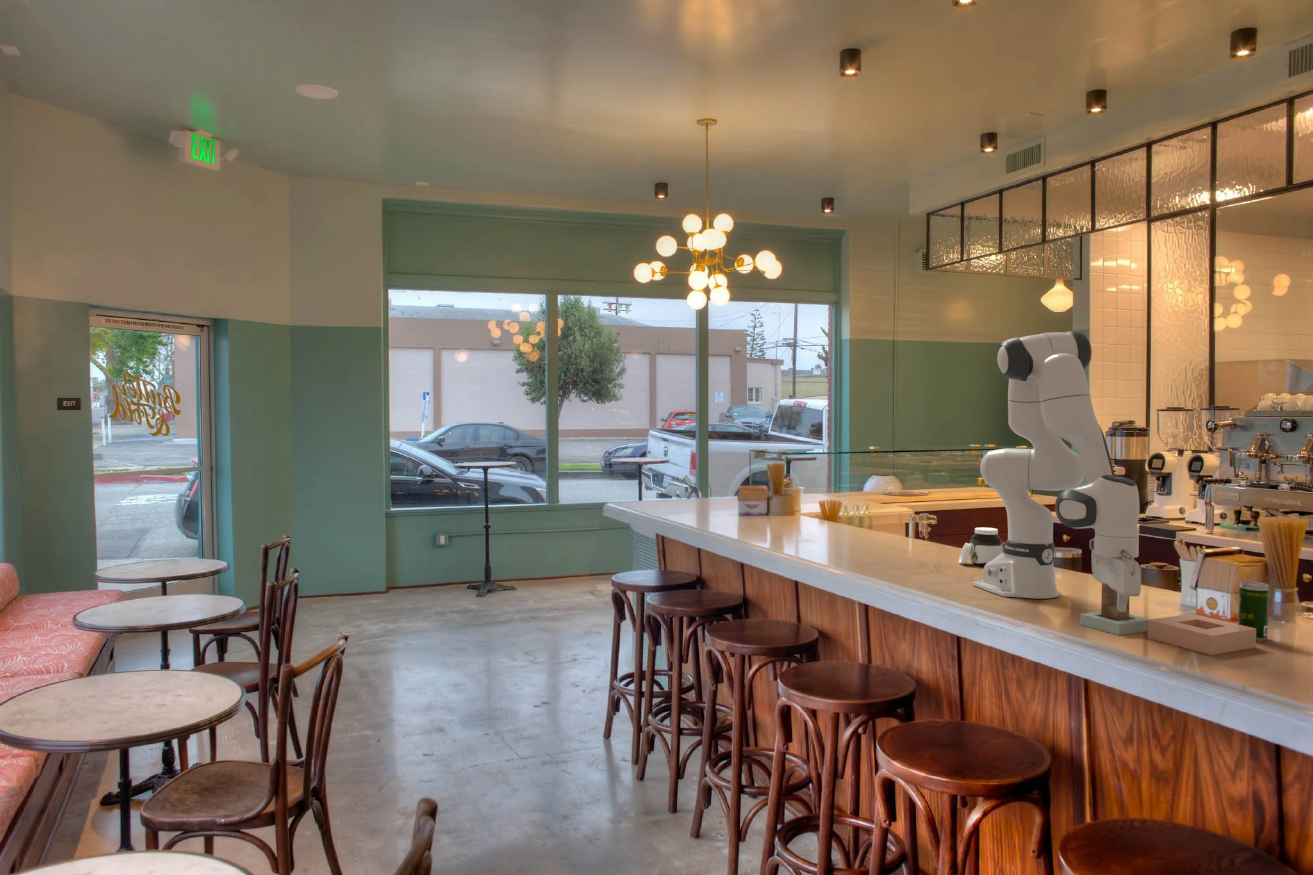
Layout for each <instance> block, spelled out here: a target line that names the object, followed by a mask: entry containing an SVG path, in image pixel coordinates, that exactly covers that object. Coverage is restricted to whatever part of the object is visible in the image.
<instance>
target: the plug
mask: <svg viewBox="0 0 1313 875" xmlns="http://www.w3.org/2000/svg"><path fill="white" fill-rule="evenodd" d="M1130 597H1131V596H1129V600H1128V602H1127V604H1126V612H1119V611H1117V610H1116V609H1115V607H1116V603H1117V599H1118V596H1117V592H1116V591H1114V590H1113V589H1111V588H1110V587H1109V585H1108V584H1106V583H1101V605H1100V606H1101V607H1100V610H1101V617H1103V618H1107V619H1111V620H1115V621H1122V620H1129V614H1130V599H1131V598H1130Z"/></svg>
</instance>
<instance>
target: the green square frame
mask: <svg viewBox="0 0 1313 875" xmlns="http://www.w3.org/2000/svg"><path fill="white" fill-rule="evenodd" d="M1148 620H1151V619H1148V618H1145V617H1141V616H1137V615H1133V614H1130V613H1129V620H1122V621H1115V620H1111V619H1107V618H1103V617H1101V611H1092V612H1084V613H1080V620H1079V621H1080V625H1081V626H1083V625H1085V626H1084V627H1087V628H1090V627H1091V629H1094V628H1096V629H1095V630H1098V631H1101V630H1102V631H1101V632H1105V633H1108V632H1109V634H1113V635H1116V636H1123V635H1132V634H1137V633H1144V632H1148ZM1080 625H1079V626H1080Z"/></svg>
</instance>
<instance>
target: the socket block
mask: <svg viewBox="0 0 1313 875" xmlns="http://www.w3.org/2000/svg"><path fill="white" fill-rule="evenodd" d="M1147 638H1148V639H1150V640H1154V639H1155V640H1154V641H1158V642H1161V641H1162V642H1161V643H1164V644H1165V643H1166V644H1168V643H1169V644H1168V645H1172V646H1176V647H1179V646H1180V648H1184V649H1187V650H1191V651H1194V652H1199V653H1202V654H1206V655H1209V656H1214V655H1221V654H1226V653H1232V652H1238V651H1243V650H1248V649H1254V648H1257V646H1256V645H1257V641H1256V628H1251V627H1247V626H1243V625H1239V624H1238V623H1235V622H1234V623H1233V622H1230V621H1224V620H1221V619H1215V618H1212V617H1209V616H1208V617H1207V616H1204V615H1199V614H1195V613H1188V614H1187V613H1185V614H1179V615H1174V616H1173V615H1172V616H1165V617H1160V618H1159V617H1158V618H1152V619H1150V620H1148V631H1147Z"/></svg>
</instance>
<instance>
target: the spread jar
mask: <svg viewBox="0 0 1313 875" xmlns="http://www.w3.org/2000/svg"><path fill="white" fill-rule="evenodd" d="M998 534H999V530H998V528H995V527H994V528H993V527H983V526H982V527H975V528H974V534H973V535H972V536H971V538H970V540H969V543H968V542H965V543H964V544H963V546H962V549H961V551H960V554H959V556H958V563H959V564H962V565H965V564H966V563H967V561H968V559H970V561H971V564H972V565H974V566H975V567H979V568H984V567H985V565H986V564H987V563H988V562H990V561H991V560H993V559H994V558H996V557H997V556H998V555H1000V554H1001V553H1003V548H1004V546H1000V545H1001V544H1003V543H1000V542H1002V539H1001V538H1000V536H999V535H998Z"/></svg>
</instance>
